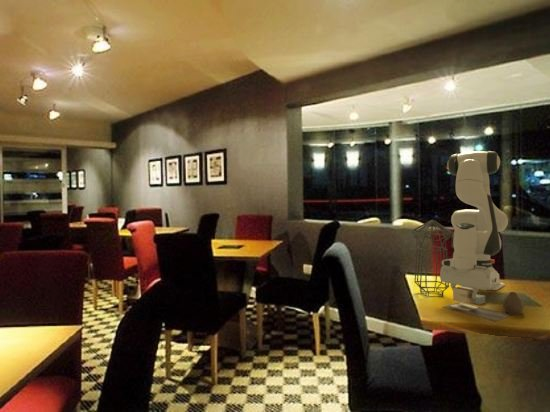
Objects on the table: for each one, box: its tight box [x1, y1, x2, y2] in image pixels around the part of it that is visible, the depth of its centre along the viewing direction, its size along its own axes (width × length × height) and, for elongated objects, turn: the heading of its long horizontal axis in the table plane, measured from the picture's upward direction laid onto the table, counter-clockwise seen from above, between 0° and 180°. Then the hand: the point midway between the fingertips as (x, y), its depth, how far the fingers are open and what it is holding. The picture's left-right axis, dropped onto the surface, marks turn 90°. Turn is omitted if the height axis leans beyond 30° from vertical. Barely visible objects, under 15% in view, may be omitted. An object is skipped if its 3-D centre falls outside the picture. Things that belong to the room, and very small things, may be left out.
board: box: [441, 301, 514, 323], centre depth 164 cm, size 13×22×1 cm, turn 34°
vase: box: [502, 291, 524, 315], centre depth 162 cm, size 7×7×9 cm
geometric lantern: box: [411, 219, 454, 298], centre depth 192 cm, size 16×16×35 cm
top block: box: [470, 293, 486, 305], centre depth 176 cm, size 5×5×4 cm
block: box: [452, 285, 475, 304], centre depth 169 cm, size 6×6×5 cm
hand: (464, 296), depth 169 cm, fingers closed on block, 6 cm apart
